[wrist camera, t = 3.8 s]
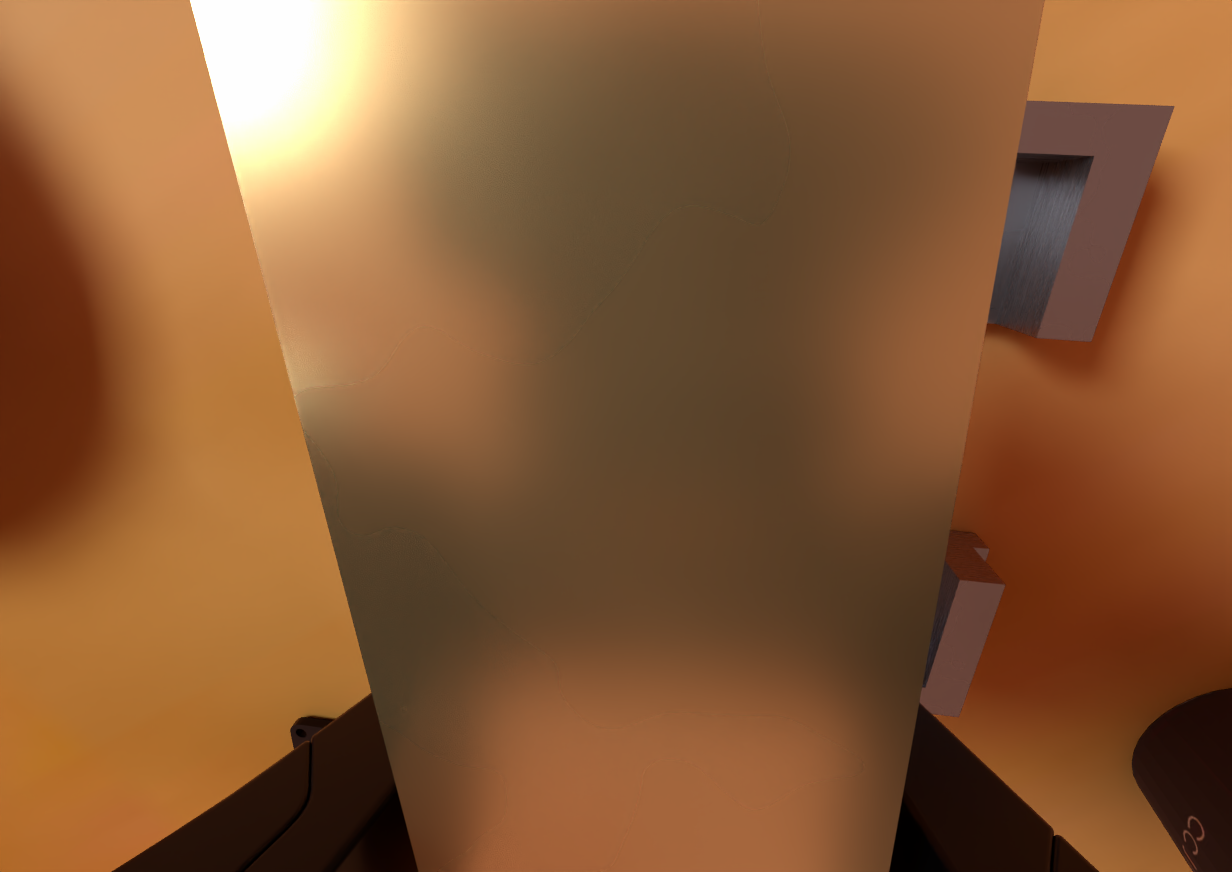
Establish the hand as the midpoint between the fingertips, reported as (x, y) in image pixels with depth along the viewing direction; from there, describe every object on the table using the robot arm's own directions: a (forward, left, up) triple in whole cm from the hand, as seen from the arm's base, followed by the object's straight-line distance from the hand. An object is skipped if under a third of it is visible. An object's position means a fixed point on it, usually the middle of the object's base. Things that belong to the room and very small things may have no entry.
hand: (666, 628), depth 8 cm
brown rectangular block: (0, 0, -1) cm, 1 cm away
